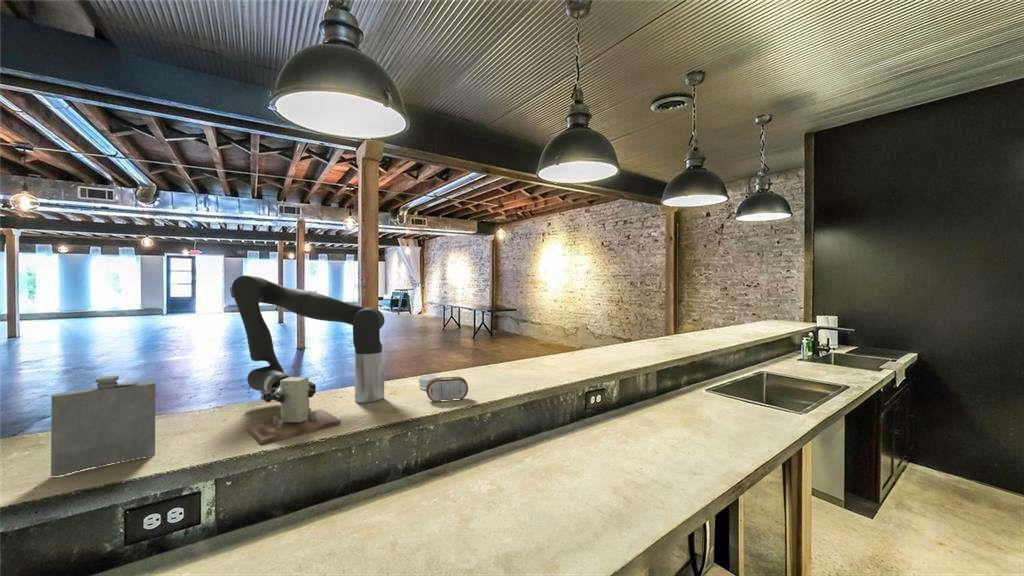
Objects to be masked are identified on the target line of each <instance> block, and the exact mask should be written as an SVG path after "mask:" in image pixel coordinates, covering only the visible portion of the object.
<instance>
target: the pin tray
mask: <svg viewBox="0 0 1024 576" xmlns="http://www.w3.org/2000/svg"><path fill="white" fill-rule="evenodd" d="M341 422H342V421H341V419H340V418H338V417H336V416H335V415H333V414H332V413H330V412H328V411H327V410H324V409H323V408H320V409H319V408H318V409H315V410H312V408H310V407H309V418H307V419H305V420H303V421H302V422H283V419H281V417H279V415H278V414H277V415H274V416H273V419H270V420H266V421H262V422H261V421H260V422H258V423H252V424H248V425H247V431H248V432H249V433H250V435H252V436H253V437H254V438H255V439H256V440H257V442H258V443H259V444H260V445H261V446H262V445H266V444H269V443H274V442H277V441H282V440H285V439H289V438H292V437H296V436H300V435H304V434H308V433H311V432H316V431H319V430H323V429H327V428H331V427H334V426H335V427H336V426H338V425H341V424H342V423H341Z"/></svg>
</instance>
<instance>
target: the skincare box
mask: <svg viewBox="0 0 1024 576" xmlns="http://www.w3.org/2000/svg"><path fill="white" fill-rule="evenodd" d="M309 382H310V380H309V376H291V377H288V378H285V379H283V380H280V393H282V394H283V395H284V403H280V418H281V419H283V422H302V421H303V420H305V419H307V418H309V408H310V397H309Z"/></svg>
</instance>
